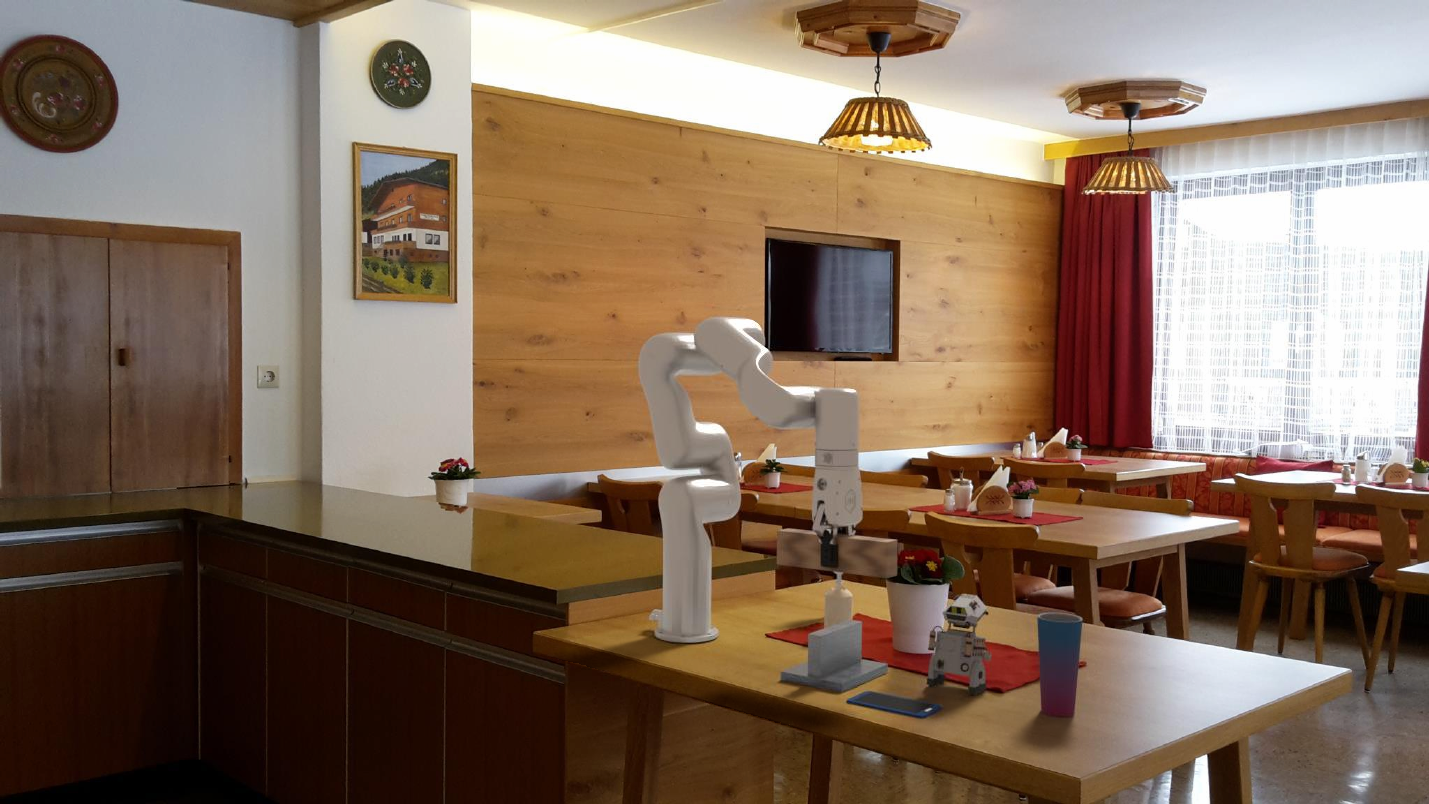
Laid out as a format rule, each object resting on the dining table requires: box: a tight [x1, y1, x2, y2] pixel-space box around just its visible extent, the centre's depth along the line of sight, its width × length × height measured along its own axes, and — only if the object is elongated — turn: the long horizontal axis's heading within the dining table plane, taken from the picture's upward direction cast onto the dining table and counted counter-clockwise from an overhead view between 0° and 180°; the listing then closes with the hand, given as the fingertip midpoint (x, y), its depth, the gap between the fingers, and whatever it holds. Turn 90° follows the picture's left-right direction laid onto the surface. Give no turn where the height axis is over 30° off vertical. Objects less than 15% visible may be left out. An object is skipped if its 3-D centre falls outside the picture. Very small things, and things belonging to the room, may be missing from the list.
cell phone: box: [846, 690, 943, 719], centre depth 186 cm, size 7×14×1 cm, turn 54°
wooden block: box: [776, 527, 898, 579], centre depth 202 cm, size 22×4×6 cm, turn 53°
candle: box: [823, 585, 854, 629], centre depth 231 cm, size 6×6×10 cm
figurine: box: [926, 593, 993, 697], centre depth 197 cm, size 9×12×15 cm
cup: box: [1036, 612, 1083, 718], centre depth 183 cm, size 7×7×15 cm
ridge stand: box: [780, 619, 889, 694], centre depth 202 cm, size 12×16×8 cm
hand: (835, 564), depth 202 cm, fingers closed on wooden block, 3 cm apart
